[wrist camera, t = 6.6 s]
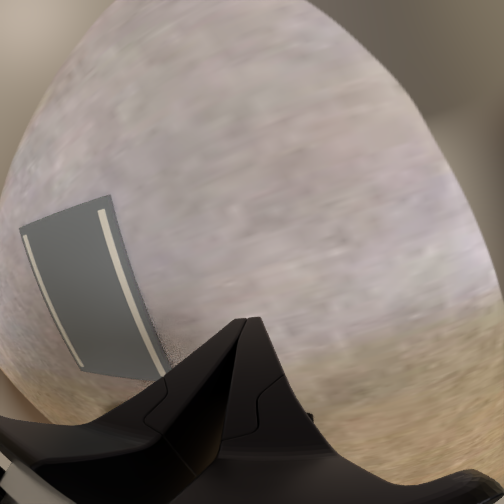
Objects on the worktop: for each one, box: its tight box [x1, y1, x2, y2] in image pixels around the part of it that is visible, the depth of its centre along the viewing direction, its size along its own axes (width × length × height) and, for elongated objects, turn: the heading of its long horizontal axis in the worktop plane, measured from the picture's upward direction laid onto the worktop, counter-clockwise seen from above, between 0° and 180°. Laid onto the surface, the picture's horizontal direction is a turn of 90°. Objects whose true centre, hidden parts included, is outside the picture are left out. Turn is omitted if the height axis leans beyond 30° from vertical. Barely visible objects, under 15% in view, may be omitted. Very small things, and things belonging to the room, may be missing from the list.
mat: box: [19, 195, 172, 381], centre depth 20 cm, size 16×12×1 cm
